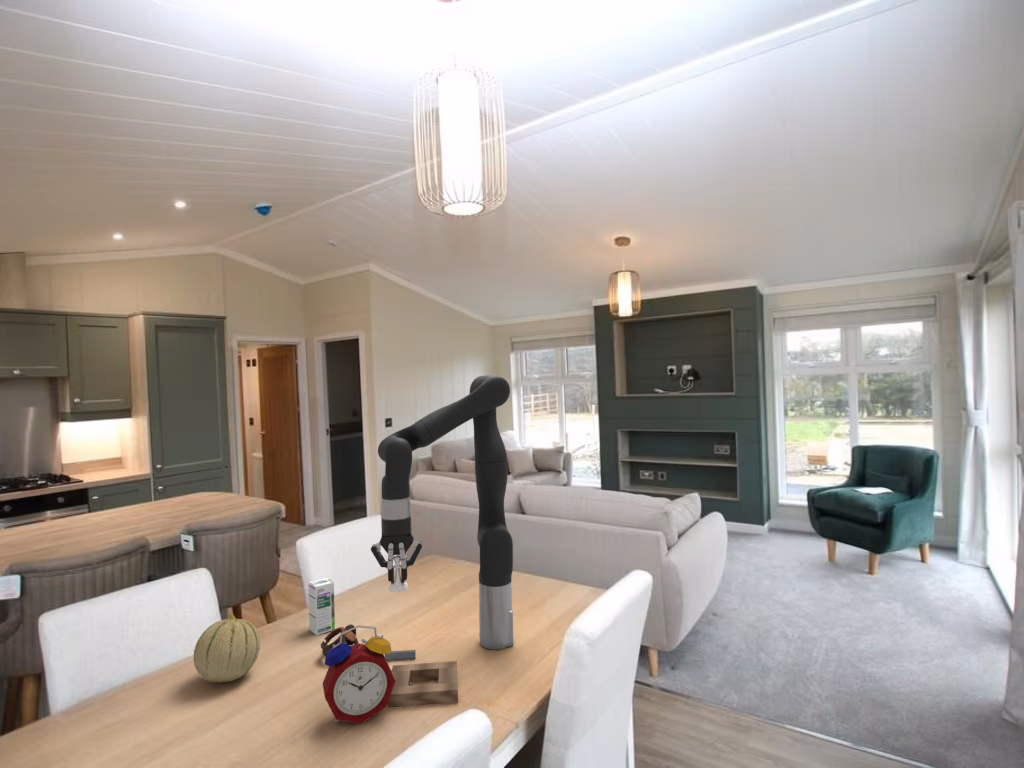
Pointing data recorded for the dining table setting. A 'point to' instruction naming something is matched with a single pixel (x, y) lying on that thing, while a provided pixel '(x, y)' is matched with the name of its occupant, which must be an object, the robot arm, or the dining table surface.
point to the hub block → (424, 693)
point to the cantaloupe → (226, 650)
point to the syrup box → (321, 606)
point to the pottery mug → (347, 638)
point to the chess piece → (397, 577)
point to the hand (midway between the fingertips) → (397, 582)
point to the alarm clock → (358, 678)
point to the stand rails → (401, 655)
